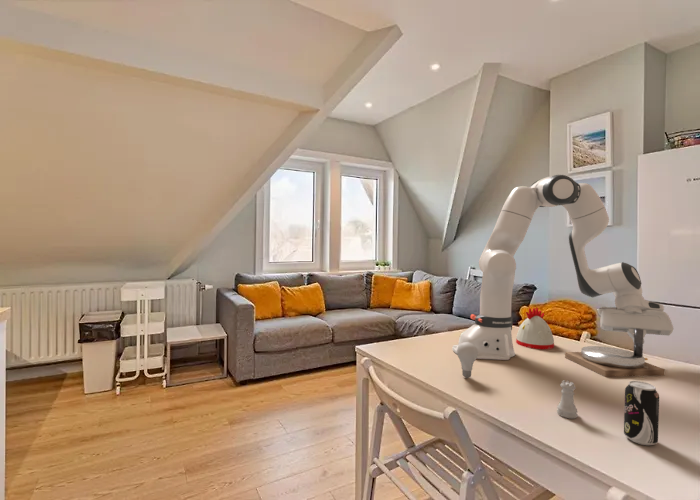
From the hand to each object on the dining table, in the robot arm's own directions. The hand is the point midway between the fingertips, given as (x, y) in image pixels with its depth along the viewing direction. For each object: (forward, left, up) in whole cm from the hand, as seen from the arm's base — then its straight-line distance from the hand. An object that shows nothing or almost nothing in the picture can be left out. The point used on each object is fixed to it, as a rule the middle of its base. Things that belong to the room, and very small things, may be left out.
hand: (638, 342), depth 125 cm
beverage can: (-39, -43, -9) cm, 59 cm away
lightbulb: (-62, -6, -9) cm, 63 cm away
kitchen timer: (-19, +29, -9) cm, 36 cm away
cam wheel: (-8, +2, -6) cm, 10 cm away
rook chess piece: (-47, -31, -9) cm, 57 cm away
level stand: (-8, +2, -8) cm, 12 cm away
